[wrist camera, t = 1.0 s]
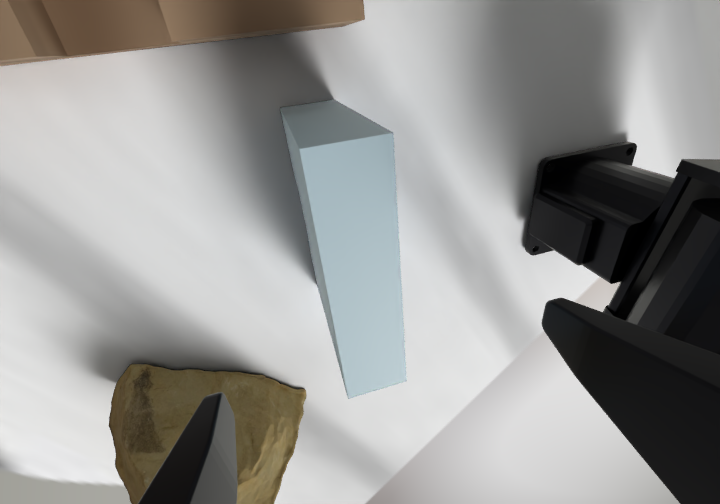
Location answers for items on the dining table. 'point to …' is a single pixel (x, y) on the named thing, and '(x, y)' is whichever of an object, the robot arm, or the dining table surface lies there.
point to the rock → (176, 407)
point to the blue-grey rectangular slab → (352, 236)
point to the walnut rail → (153, 24)
